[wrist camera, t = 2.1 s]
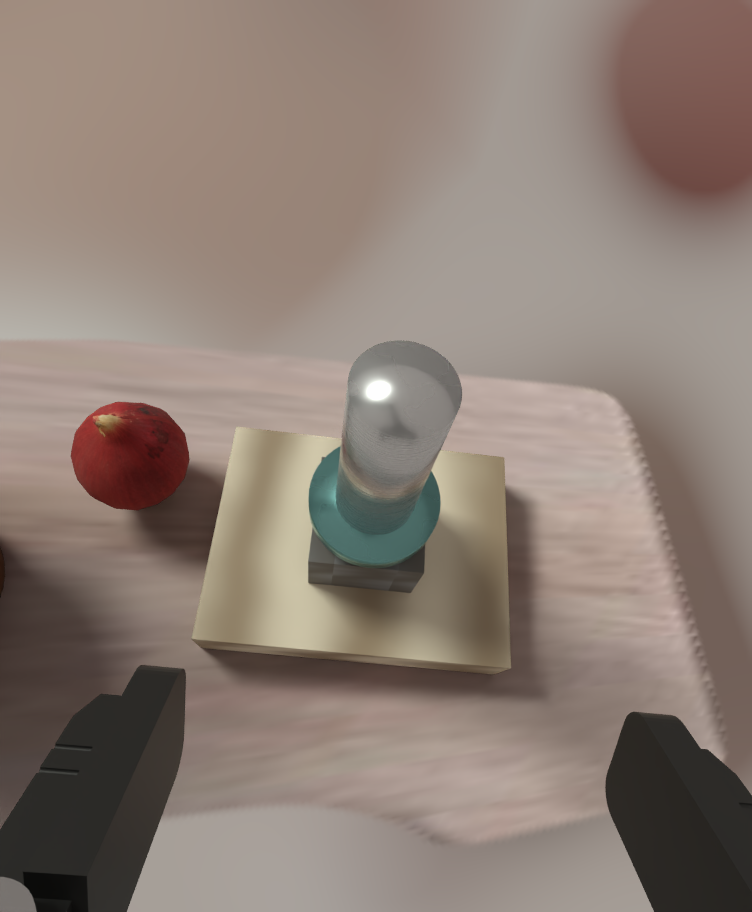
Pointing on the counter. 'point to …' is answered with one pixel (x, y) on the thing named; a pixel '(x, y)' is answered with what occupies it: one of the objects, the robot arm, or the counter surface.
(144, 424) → the onion
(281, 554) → the wooden base with socket
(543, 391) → the counter surface
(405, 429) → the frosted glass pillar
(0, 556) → the food container
